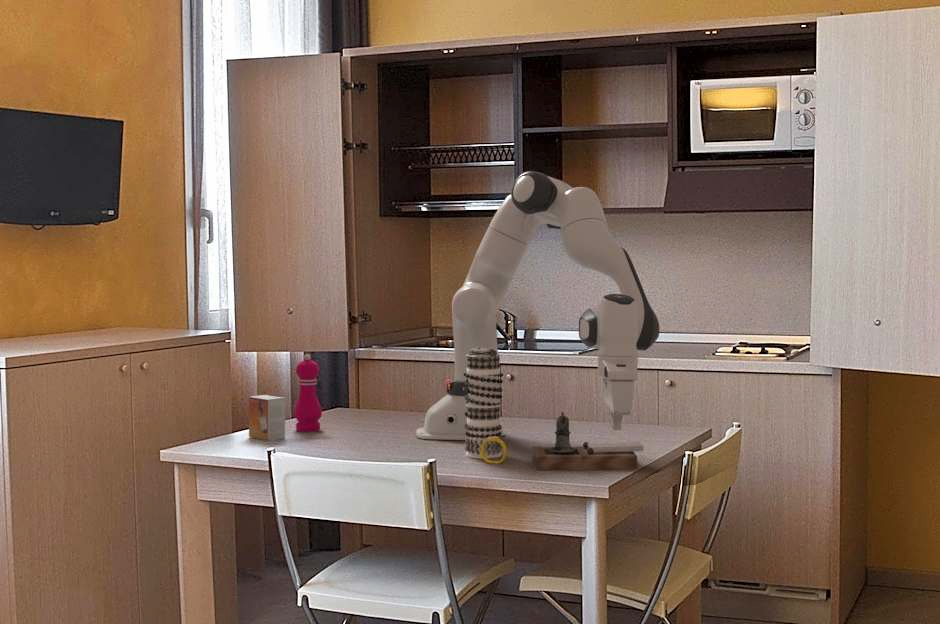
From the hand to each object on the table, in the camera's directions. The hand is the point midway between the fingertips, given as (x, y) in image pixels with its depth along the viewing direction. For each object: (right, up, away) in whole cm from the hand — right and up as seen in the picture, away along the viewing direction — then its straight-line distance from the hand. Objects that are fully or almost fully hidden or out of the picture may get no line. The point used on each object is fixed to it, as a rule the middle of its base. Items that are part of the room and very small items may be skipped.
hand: (616, 429), depth 269 cm
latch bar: (0, -5, +1) cm, 5 cm away
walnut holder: (-7, -8, +1) cm, 11 cm away
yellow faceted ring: (-27, -8, +3) cm, 29 cm away
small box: (-84, -6, +36) cm, 92 cm away
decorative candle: (-29, -7, +12) cm, 33 cm away
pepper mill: (-75, -5, +48) cm, 89 cm away
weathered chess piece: (-12, -8, -1) cm, 15 cm away
